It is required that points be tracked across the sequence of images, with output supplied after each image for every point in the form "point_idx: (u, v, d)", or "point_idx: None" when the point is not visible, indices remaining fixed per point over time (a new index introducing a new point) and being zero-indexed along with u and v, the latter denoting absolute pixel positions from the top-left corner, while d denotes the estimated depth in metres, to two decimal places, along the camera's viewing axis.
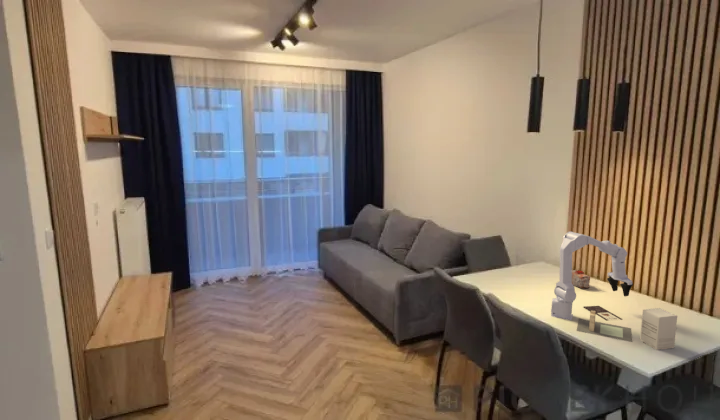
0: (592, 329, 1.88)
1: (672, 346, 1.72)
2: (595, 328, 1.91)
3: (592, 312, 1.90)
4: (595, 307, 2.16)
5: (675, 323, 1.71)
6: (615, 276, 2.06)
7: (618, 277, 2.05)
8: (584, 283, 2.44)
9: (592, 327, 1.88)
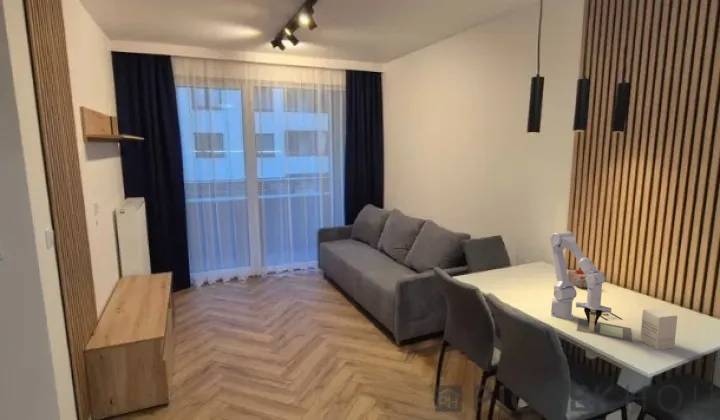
0: (592, 329, 1.88)
1: (672, 346, 1.72)
2: (595, 328, 1.91)
3: (592, 312, 1.90)
4: None
5: (675, 323, 1.71)
6: None
7: None
8: (584, 283, 2.45)
9: (592, 327, 1.88)
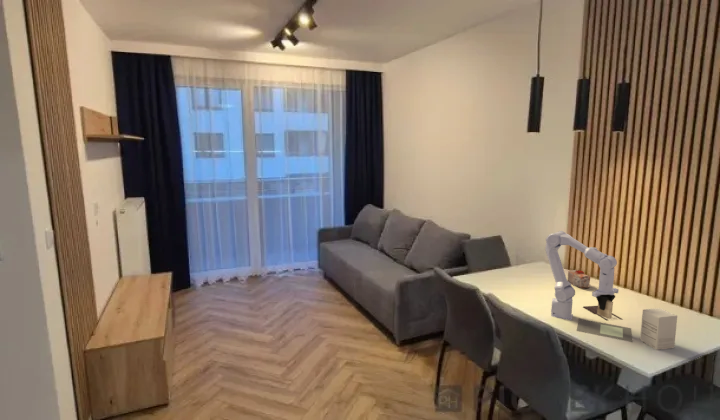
0: (610, 316, 1.88)
1: (672, 346, 1.72)
2: (595, 328, 1.91)
3: None
4: (595, 307, 2.16)
5: (675, 323, 1.71)
6: None
7: None
8: (584, 283, 2.45)
9: (610, 314, 1.88)
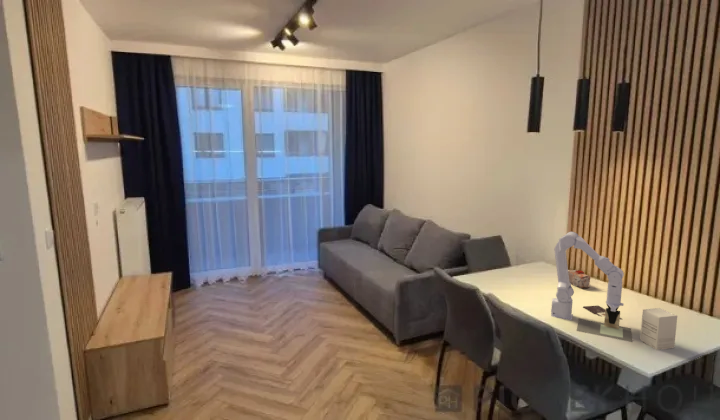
0: (618, 326, 1.91)
1: (672, 346, 1.72)
2: (595, 328, 1.91)
3: None
4: (594, 307, 2.16)
5: (675, 323, 1.71)
6: None
7: (608, 301, 1.90)
8: (584, 283, 2.45)
9: None
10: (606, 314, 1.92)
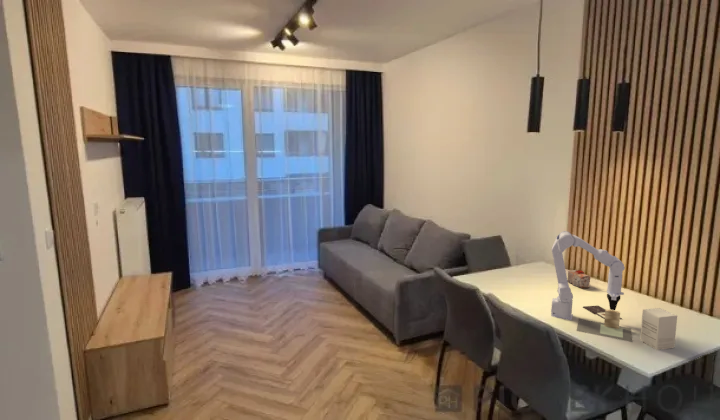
0: (618, 326, 1.91)
1: (672, 346, 1.72)
2: (595, 328, 1.91)
3: (611, 311, 1.92)
4: (594, 307, 2.16)
5: (675, 323, 1.71)
6: (607, 289, 1.97)
7: (609, 290, 1.96)
8: (584, 283, 2.45)
9: None
10: (606, 314, 1.92)
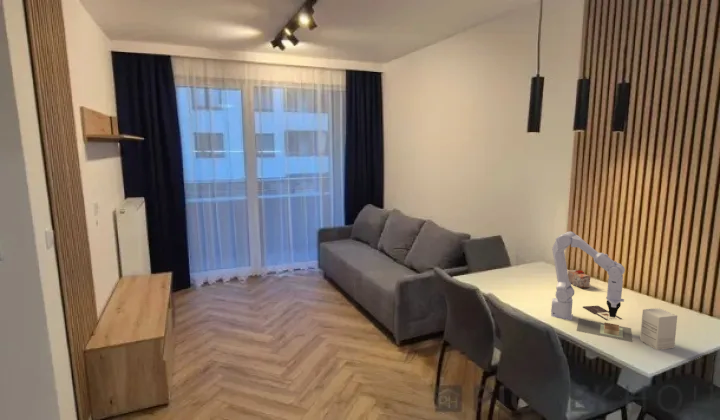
0: None
1: (672, 346, 1.72)
2: (595, 328, 1.91)
3: (610, 332, 1.85)
4: (594, 307, 2.17)
5: (675, 323, 1.71)
6: (607, 295, 1.90)
7: (608, 297, 1.88)
8: (585, 283, 2.45)
9: None
10: None
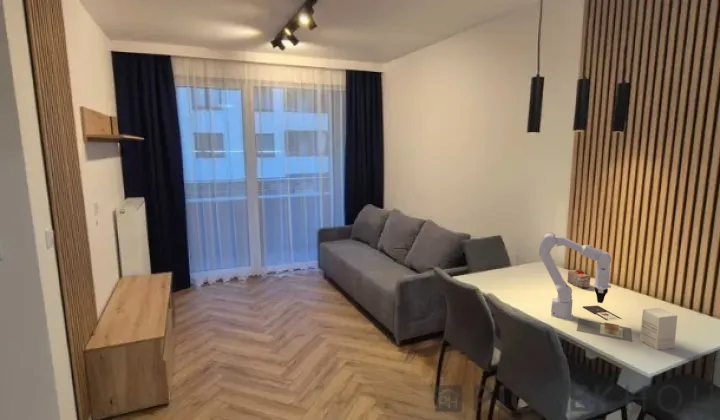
0: None
1: (672, 346, 1.72)
2: (595, 328, 1.91)
3: (610, 332, 1.85)
4: (594, 307, 2.17)
5: (675, 323, 1.71)
6: (595, 282, 1.97)
7: (596, 283, 1.96)
8: (585, 283, 2.45)
9: None
10: None
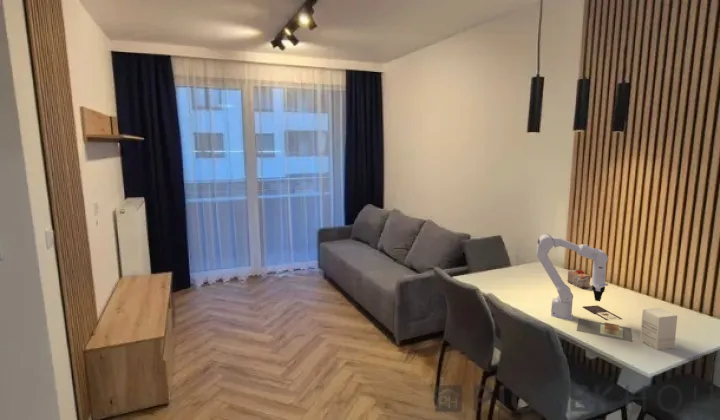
0: None
1: (672, 346, 1.72)
2: (595, 328, 1.91)
3: (610, 332, 1.85)
4: (594, 307, 2.17)
5: (675, 323, 1.71)
6: (592, 280, 1.99)
7: (593, 282, 1.98)
8: (585, 283, 2.45)
9: None
10: None
